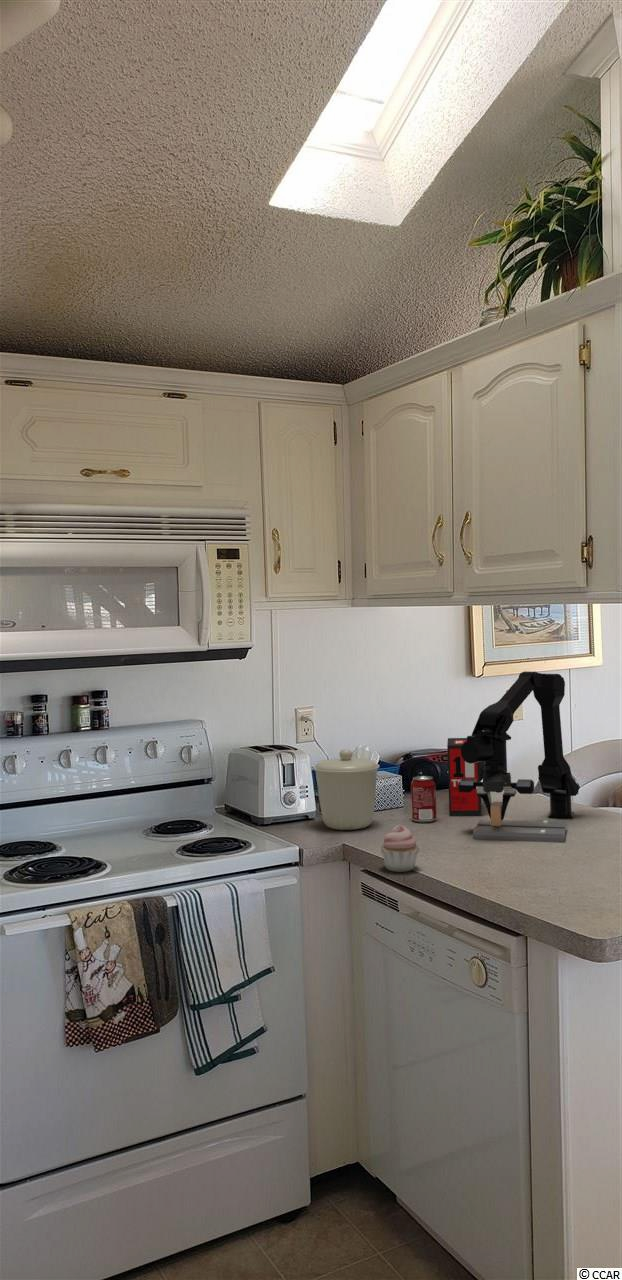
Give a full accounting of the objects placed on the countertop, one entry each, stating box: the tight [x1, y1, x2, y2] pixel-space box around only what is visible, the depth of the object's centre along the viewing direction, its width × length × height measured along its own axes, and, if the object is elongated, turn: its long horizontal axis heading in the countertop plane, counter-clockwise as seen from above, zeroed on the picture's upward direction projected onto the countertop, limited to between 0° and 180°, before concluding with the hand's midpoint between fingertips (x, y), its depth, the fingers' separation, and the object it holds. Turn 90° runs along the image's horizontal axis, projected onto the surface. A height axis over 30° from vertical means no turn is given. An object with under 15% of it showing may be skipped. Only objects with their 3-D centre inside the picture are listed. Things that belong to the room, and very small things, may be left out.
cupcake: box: [378, 823, 422, 873], centre depth 209 cm, size 9×9×10 cm
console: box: [472, 818, 567, 843], centre depth 238 cm, size 14×22×2 cm, turn 72°
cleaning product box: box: [446, 737, 482, 817], centre depth 270 cm, size 16×9×20 cm, turn 171°
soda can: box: [410, 775, 437, 824], centre depth 258 cm, size 7×7×12 cm
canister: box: [312, 748, 380, 831], centre depth 254 cm, size 18×18×21 cm
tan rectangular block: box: [490, 801, 504, 827], centre depth 240 cm, size 6×2×6 cm, turn 162°
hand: (497, 819), depth 240 cm, fingers closed on tan rectangular block, 2 cm apart
